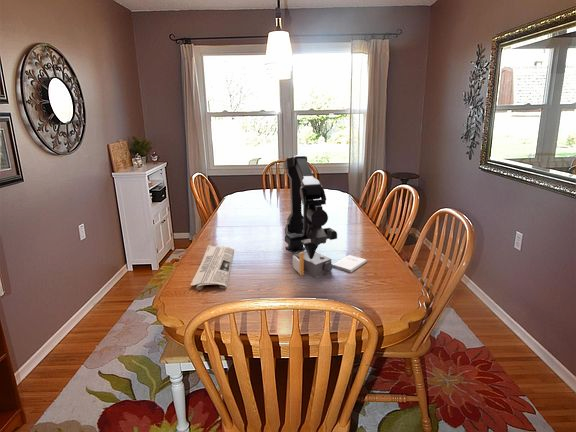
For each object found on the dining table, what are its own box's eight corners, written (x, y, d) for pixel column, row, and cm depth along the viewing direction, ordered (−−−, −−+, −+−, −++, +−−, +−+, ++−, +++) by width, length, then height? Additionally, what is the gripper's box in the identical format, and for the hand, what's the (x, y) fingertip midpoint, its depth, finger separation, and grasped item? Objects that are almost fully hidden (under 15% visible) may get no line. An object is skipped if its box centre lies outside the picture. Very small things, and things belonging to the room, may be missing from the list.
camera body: (294, 266, 145) (294, 253, 144) (309, 261, 150) (310, 248, 148) (318, 278, 135) (318, 264, 133) (334, 272, 140) (334, 258, 138)
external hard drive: (331, 268, 145) (348, 258, 154) (350, 274, 140) (366, 263, 149) (332, 264, 144) (348, 254, 153) (350, 270, 139) (366, 259, 148)
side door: (291, 266, 144) (291, 246, 142) (294, 266, 145) (294, 245, 142) (300, 275, 137) (300, 253, 135) (303, 274, 138) (303, 253, 135)
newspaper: (226, 290, 129) (226, 281, 128) (189, 291, 128) (188, 282, 127) (234, 251, 162) (234, 243, 161) (205, 252, 162) (204, 244, 161)
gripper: (296, 228, 123) (296, 271, 127) (345, 220, 130) (344, 262, 134) (283, 218, 133) (284, 259, 137) (330, 212, 140) (329, 251, 144)
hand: (311, 258), depth 138 cm, fingers closed
